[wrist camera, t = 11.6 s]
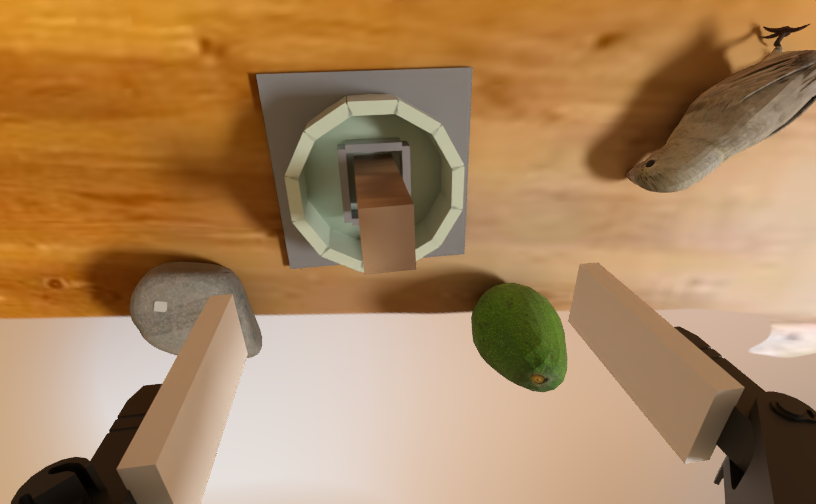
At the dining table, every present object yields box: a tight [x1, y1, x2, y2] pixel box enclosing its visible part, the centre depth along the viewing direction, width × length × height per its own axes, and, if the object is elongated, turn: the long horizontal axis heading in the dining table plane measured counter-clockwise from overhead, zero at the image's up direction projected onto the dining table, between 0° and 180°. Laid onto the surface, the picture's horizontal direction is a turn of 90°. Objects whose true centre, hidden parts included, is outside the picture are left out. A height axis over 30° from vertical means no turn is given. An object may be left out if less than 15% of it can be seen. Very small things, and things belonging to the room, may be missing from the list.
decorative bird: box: [626, 24, 816, 193], centre depth 33 cm, size 5×16×8 cm, turn 135°
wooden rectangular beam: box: [353, 153, 416, 275], centre depth 28 cm, size 3×4×12 cm
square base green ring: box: [256, 67, 473, 272], centre depth 32 cm, size 16×16×5 cm
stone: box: [130, 262, 262, 358], centre depth 35 cm, size 9×9×10 cm
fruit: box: [471, 283, 567, 392], centre depth 36 cm, size 8×8×12 cm
